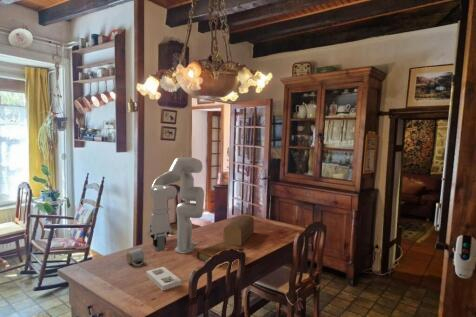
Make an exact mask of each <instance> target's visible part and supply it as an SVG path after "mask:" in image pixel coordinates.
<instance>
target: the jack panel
mask: <svg viewBox="0 0 476 317" xmlns="http://www.w3.org/2000/svg"><path fill="white" fill-rule="evenodd" d="M145 276H146V278H148V279H149V280H150V281H151V282H152V283H153V284H154V285H156V286H157V287H158V288H159V289H160V290H161V291H162V290H164V291H166V289H167V290H170V289H173V288H176V287H179V286H181V285H182V279H180V278H179V277H178V276H177V275H175V274H174V273H173V272H172V271H170V270H169V269H167V268H166V267H165V266H161V267H157V268H154V269H150V270H146V272H145ZM178 285H179V286H178ZM175 286H176V287H175ZM172 287H173V288H172ZM169 288H170V289H169Z"/></svg>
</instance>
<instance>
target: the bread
mask: <svg viewBox="0 0 476 317" xmlns="http://www.w3.org/2000/svg"><path fill="white" fill-rule="evenodd" d="M254 231H255V220H254V217H253V216H252V215H246V214H245V215H243V214H241V215H238V216H237V217H236V218H234V219H233V220H232V221H231V222H230V223H227V225H225V226H224V228H223V241H222V242H226V243H229V244H231V245H234V246H237V247H242V246H243V245H244V244H245V243H246V241H248V239H249V238H250V237H251V236H252V235H253V234H254Z"/></svg>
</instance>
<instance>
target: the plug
mask: <svg viewBox="0 0 476 317" xmlns="http://www.w3.org/2000/svg"><path fill="white" fill-rule="evenodd" d="M156 239H157V247H155V246H154V245H153V247H154V248H153V251H155V252H157V253H160V252H164V251H165V250H166V245H165V234H164V233H159V234H157V238H156Z"/></svg>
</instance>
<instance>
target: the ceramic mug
mask: <svg viewBox="0 0 476 317" xmlns="http://www.w3.org/2000/svg"><path fill="white" fill-rule="evenodd" d="M125 256H126V261H127V263H128V264H129V265H133V266H134V267H140V266H141V267H142V265H143V263H144V259H145V254H144V251H143V249H142V248H141V247H139V248H136V249H132V250H129V251H128V252H127V253H126V255H125ZM140 262H141V263H140Z"/></svg>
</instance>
